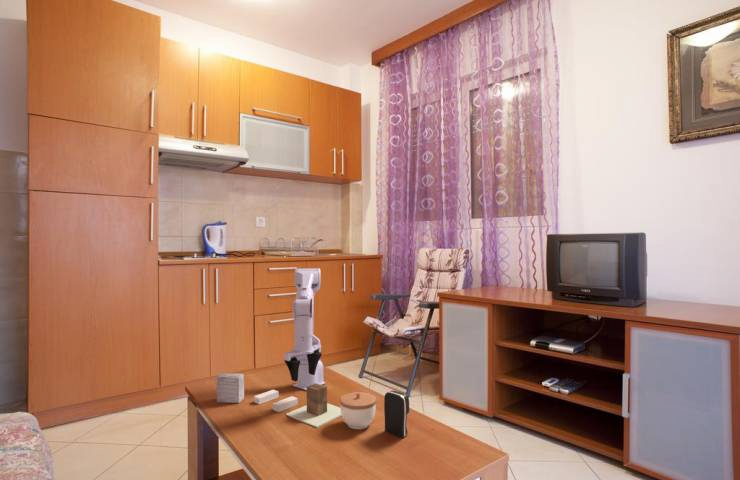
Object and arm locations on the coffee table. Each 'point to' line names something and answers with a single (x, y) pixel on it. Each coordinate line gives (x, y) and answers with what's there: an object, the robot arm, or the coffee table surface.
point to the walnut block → (316, 399)
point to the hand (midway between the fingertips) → (303, 377)
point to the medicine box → (230, 388)
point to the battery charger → (396, 413)
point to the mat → (312, 419)
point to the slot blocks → (278, 405)
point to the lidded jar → (358, 409)
